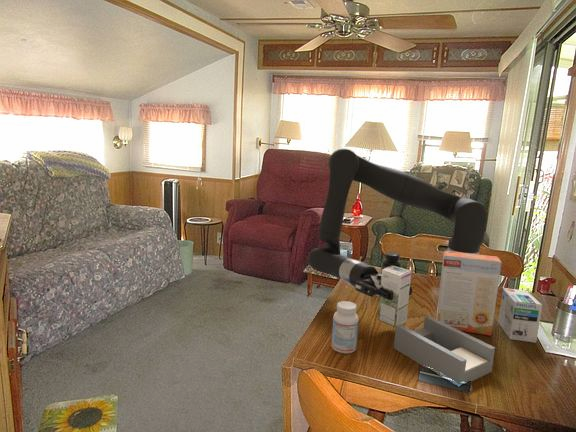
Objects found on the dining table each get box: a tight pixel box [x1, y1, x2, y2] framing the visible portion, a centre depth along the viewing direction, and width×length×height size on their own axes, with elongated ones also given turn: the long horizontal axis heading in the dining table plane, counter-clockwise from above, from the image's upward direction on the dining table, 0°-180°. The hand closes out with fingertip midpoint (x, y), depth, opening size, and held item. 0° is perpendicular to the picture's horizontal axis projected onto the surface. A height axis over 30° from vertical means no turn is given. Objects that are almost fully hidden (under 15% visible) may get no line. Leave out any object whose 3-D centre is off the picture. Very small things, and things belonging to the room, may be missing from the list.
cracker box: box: [435, 250, 502, 337], centre depth 109 cm, size 14×6×21 cm, turn 71°
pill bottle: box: [330, 300, 360, 354], centre depth 96 cm, size 6×6×11 cm
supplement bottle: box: [380, 251, 403, 275], centre depth 139 cm, size 7×7×12 cm
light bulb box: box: [497, 287, 543, 343], centre depth 109 cm, size 11×7×11 cm, turn 168°
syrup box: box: [377, 266, 412, 328], centre depth 105 cm, size 6×6×14 cm
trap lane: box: [393, 315, 496, 384], centre depth 94 cm, size 12×18×6 cm, turn 32°
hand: (401, 294), depth 103 cm, fingers closed on syrup box, 6 cm apart
